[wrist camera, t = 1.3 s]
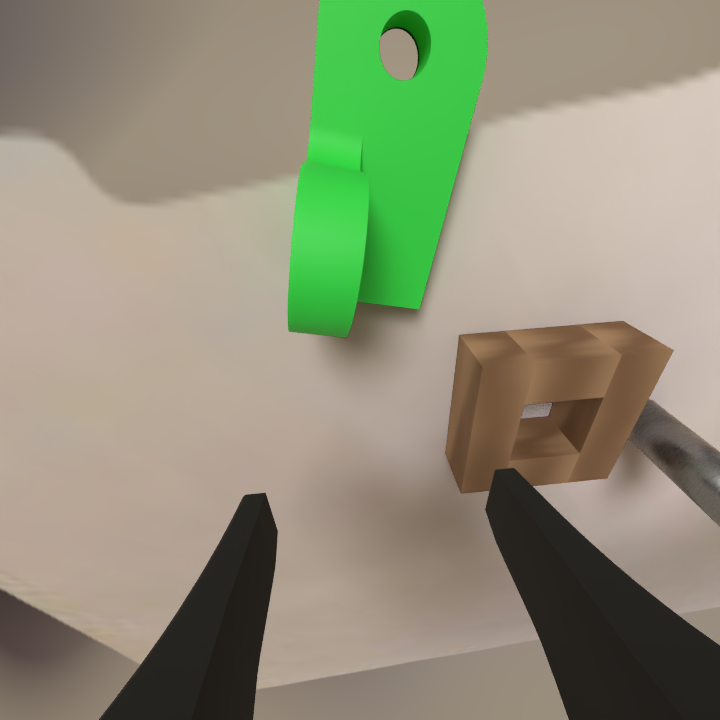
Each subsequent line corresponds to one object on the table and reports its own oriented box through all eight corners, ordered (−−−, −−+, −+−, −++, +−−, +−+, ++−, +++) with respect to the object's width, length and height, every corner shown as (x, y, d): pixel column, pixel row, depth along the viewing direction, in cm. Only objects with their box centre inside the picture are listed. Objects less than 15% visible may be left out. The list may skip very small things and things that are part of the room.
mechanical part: (410, 295, 18) (459, 378, 12) (300, 280, 18) (284, 361, 11) (489, -13, 12) (686, -212, 6) (326, -61, 11) (325, -369, 5)
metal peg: (664, 397, 24) (821, 513, 16) (646, 428, 25) (782, 546, 18) (623, 401, 24) (762, 519, 16) (608, 432, 25) (729, 553, 18)
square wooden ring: (622, 321, 20) (673, 350, 17) (574, 440, 25) (607, 478, 22) (459, 334, 20) (482, 367, 17) (445, 453, 25) (461, 493, 22)
